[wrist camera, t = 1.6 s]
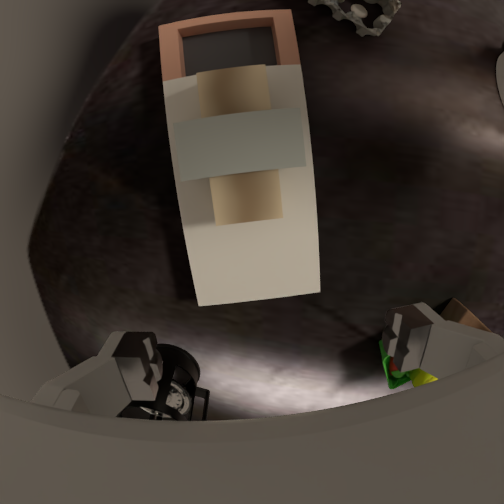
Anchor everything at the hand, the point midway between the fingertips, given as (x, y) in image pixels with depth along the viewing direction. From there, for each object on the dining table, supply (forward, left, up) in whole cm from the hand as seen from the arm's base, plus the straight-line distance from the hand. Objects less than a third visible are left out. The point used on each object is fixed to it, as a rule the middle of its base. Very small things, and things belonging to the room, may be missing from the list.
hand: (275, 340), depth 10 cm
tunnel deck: (+1, -6, -25) cm, 25 cm away
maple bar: (+1, -7, -22) cm, 23 cm away
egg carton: (-14, -25, -25) cm, 38 cm away
